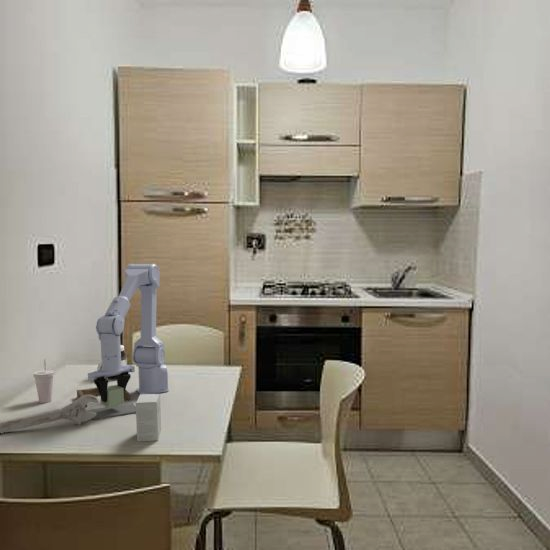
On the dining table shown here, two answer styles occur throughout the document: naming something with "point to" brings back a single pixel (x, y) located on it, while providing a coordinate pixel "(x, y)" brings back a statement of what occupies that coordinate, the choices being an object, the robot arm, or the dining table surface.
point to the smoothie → (44, 384)
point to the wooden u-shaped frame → (97, 393)
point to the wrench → (53, 415)
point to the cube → (114, 396)
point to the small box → (148, 417)
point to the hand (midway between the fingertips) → (112, 399)
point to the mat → (113, 411)
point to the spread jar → (123, 362)
